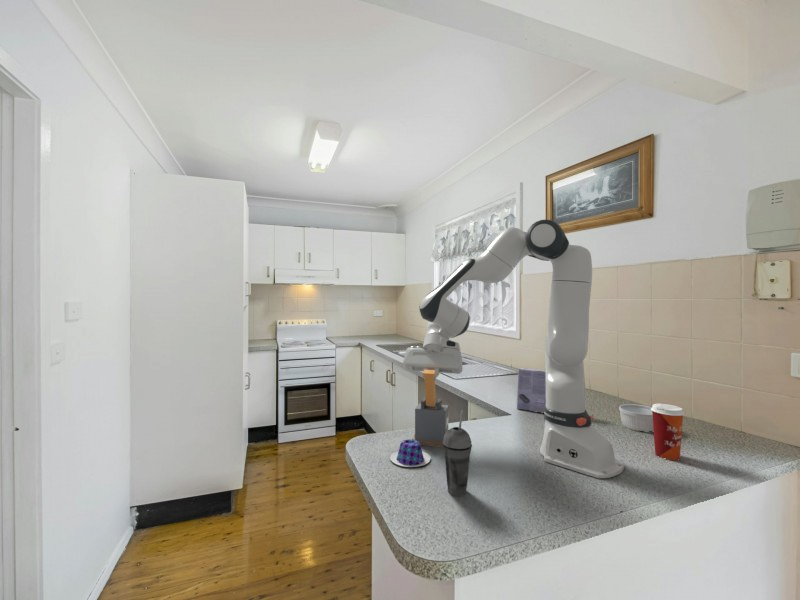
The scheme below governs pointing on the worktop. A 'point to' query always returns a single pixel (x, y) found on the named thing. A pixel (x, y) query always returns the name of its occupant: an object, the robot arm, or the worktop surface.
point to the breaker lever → (430, 388)
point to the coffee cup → (667, 430)
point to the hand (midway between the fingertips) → (429, 381)
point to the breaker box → (431, 423)
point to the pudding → (410, 454)
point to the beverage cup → (457, 459)
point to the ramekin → (637, 417)
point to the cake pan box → (531, 389)
